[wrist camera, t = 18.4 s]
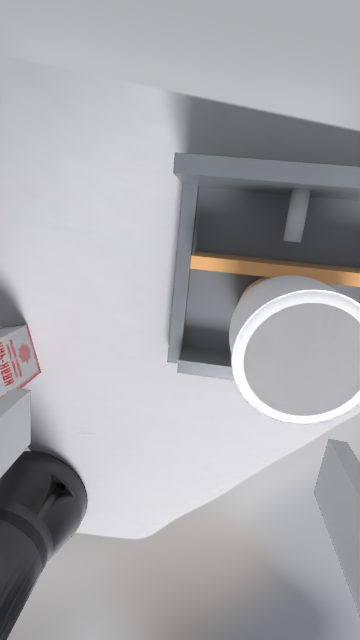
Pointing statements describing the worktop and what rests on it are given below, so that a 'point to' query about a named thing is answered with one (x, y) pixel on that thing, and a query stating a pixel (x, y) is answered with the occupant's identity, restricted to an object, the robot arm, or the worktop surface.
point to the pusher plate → (275, 268)
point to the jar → (296, 349)
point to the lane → (252, 240)
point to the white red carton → (16, 358)
